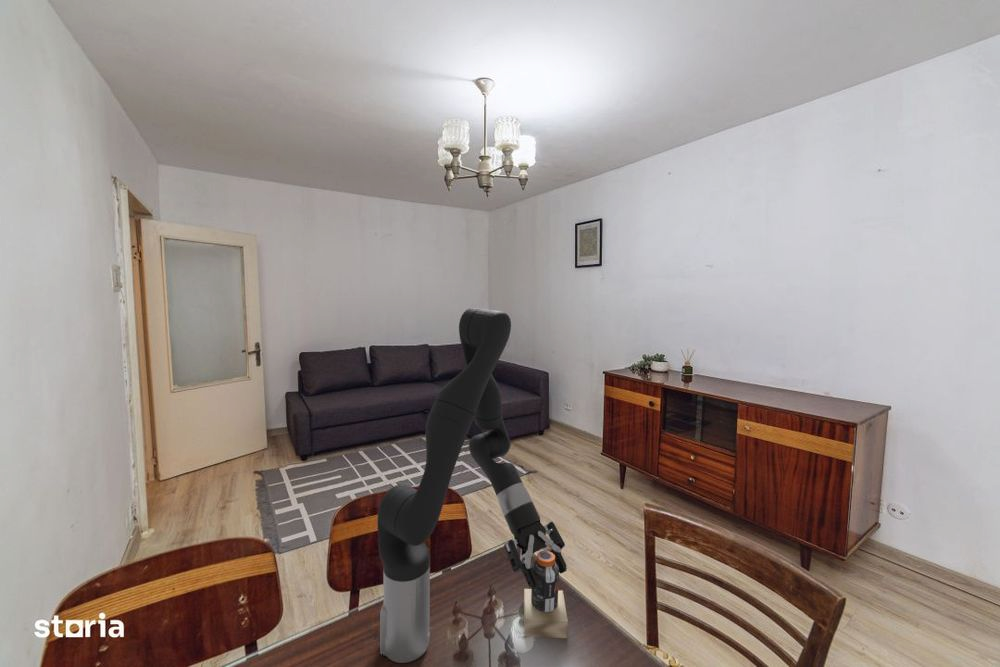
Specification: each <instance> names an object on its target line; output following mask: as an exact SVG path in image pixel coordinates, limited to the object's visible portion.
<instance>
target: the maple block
mask: <svg viewBox="0 0 1000 667" xmlns="http://www.w3.org/2000/svg"><path fill="white" fill-rule="evenodd" d="M531 591H532V588H523V622H524V623H523V624H524V625H523V628H524V632H523V634H524V637H532V638H533V637H534V638H535V637H536V638H552V639H567V638H568V624H569V623H568V622H569V621H568V615H567V609H566V601H565V596H564V590H559V589H558V605H557V607H556V609H555V610H553V611H551V612H541V611H539V610H537V609H535V608H534V606H533V605H532V602H531Z"/></svg>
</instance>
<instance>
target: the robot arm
mask: <svg viewBox="0 0 1000 667" xmlns="http://www.w3.org/2000/svg"><path fill="white" fill-rule="evenodd" d="M458 324H459V325H458V333H459V341H460V345H461V349H462V352H463V356H464V357H463V358H464V361H465V365H466V367H465V368H463V370H462V371H460V372H459V373H458V374H457V375H456V376H455V377H453V378H452V379H450V381H448V383H446V384H445V385H444V386H443V387H442V388H441V389H440V391H439V392H438V394H437V395H436V398H434V399H435V400H434V402H433V404H432V406H431V409H430V411H429V414H428V415H427V419H426V424H425V449H426V450H425V451H426V455H425V456H426V457H425V458H426V460H425V467H424V471H423V474H422V477H421V480H420V482H419V485H418V488H417V489H416V488H414V487H412V486H409V485H407V484H396V485H394V486H393V487H391V488H390V489H388V490H387V491H386V492H385V494H384V495H383V497H382V499H381V501H380V503H379V507H378V509H377V510H378V512H377V541H378V542H377V543H378V553H379V558H380V560H381V562H382V567H383V570H382V571H383V572H382V573H383V575H382V576H383V580H382V581H383V603H382V606H381V608H380V611H379V614H380V615H379V616H380V618H379V620H380V621H379V622H380V624H379V625H380V626H379V628H380V630H379V632H380V633H379V635H380V636H379V640H380V641H379V642H380V647H379V648H380V649H379V652H380V654H381V655H380V656H386V657H387V658H388V659H389V660H390V661H392V662H393V663H394V662H395V663H398V664H405V663H410V662H413V661H416V660H417V659H419V658H420V657H422V656H423V655H424V654H425V653H426V652H427V650H428V647H429V645H430V613H431V612H430V610H431V609H430V607H431V606H430V599H431V598H430V597H431V596H430V595H431V594H430V591H431V590H430V586H431V584H430V582H431V580H430V579H431V578H430V577H431V576H430V575H431V554H430V553H431V552H430V548H428V546H427V544H426V543H425V542H426V541H427V540H428V539H429V538H430V536H431V535H432V534H433V532H434V530H435V528H436V526H437V524H438V522H439V518H440V516H441V513H442V510H443V506H444V503H445V500H446V496H447V492H448V490H449V487H450V482H451V478H452V476H453V473H454V470H455V467H456V464H457V462H458V458H459V456H460V453H461V450H462V447H463V445H464V443H465V441H466V438H467V436H468V433H469V431H470V429H471V426H472V424H473V421H474V424H475V425H476V426H477V427H478V429H482V430H488V431H485V432H481V433H479V434H476V435H474V436H472V437H471V438H470V441H469V444H468V448H469V454H470V455H471V458H472V459H473V461H474V462H475V463H476V464H477V465H478V466H479V467H480V469H481V470H482V471H483V473H484V474H485V476H486V477H487V478H488V479H489V482H490V484H491V486H492V488H493V491H494V493H495V495H496V498H497V501H498V505H499V508H500V510H501V513H502V514H503V516H504V519H505V522H506V524H507V526H508V528H509V531H510V533H511V534H512V535H513V537H514V539H510V540H508V541H507V542H505V543H504V545H503V547H504V549H505V552H506V555H507V557H508V560H509V564H510V567H511V568H512V571H513V572H514V573H516V572H521V573H522V574H523V576H524V578H525V581H526V583H527V586H528V587H529V588H530V589H535V588H537V587H539V583H538V581H537V578H536V576H535V574H534V572H533V569H532V567H531V563H532V558H533V554H535V553H536V552H540V551H549V552H552V553H553V554H554V555H555V562H556V564H557V565H558V567H559V575H560V574H564V573H565V572H567V570H568V567H567V563H566V561H565V559H564V557H563V555H562V553H561V552H562V550H563V548H564V547H565V546H566V544H565V541H564V539H563V538H562V536H561V534H560V532H559V530H558V528H557V526H556V524H555V523H554V522H553V521H550V522H548V523H547V524H545V525H543V524H542V523H541V517H540V515H539V512H538V511H537V508H536V506H535V504H534V501H533V500H532V498H531V495H530V493H529V491H528V490H527V488H526V487H525V484H524V482H523V481H522V478H521V477H520V474H519V472H518V470H517V468H516V466H515V464H513V463H512V462H504V463H501V462H500V463H499V462H496V461H495V460H494V459H497V458H499V457H504V456H505V455H507V454H508V453H509V451H510V450H511V449H510V448H511V445H512V443H511V439H510V436H509V433H508V430H507V428H506V425H505V422H504V418H503V406H502V403H503V402H502V395H501V394H502V393H501V391H500V387H499V385H498V383H497V381H496V379H495V377H494V376H493V371H494V370H495V367H496V366H497V364H498V363H499V362H498V361H499V360H500V359H501V356H502V354H503V352H504V350H505V348H506V346H507V345H508V344H507V343H508V341H509V339H510V334H511V329H512V321H511V318H510V316H509V315H508V313H506V312H504V311H501V310H495V309H487V308H480V307H470V308H467V309H466V310H465V311H464V312H463V313H462V314H461V316H460V319H459V322H458ZM547 535H548V536H547ZM518 548H519V549H520V555H519V551H518ZM382 654H383V655H382Z"/></svg>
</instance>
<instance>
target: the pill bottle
mask: <svg viewBox="0 0 1000 667" xmlns="http://www.w3.org/2000/svg"><path fill="white" fill-rule="evenodd" d="M531 568H532V569H533V572H534V574H535V576H536V578H537V581H538V583H539V587H537V588H535V589H532V588H531V589H532V591H531V602H532V605H533V606H534V608H535V609H537V610H539V611H541V612H551V611H553V610H555V609H556V607H557V605H558V590H559V583H560V582H559V579H560V573H559V567H558V565H557V564H556V562H555V555H554V554H553V553H552V552H549V551H544V550H540V551H538V553H537V555H536V560H535V561H534V562H533V564H532V566H531Z"/></svg>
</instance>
